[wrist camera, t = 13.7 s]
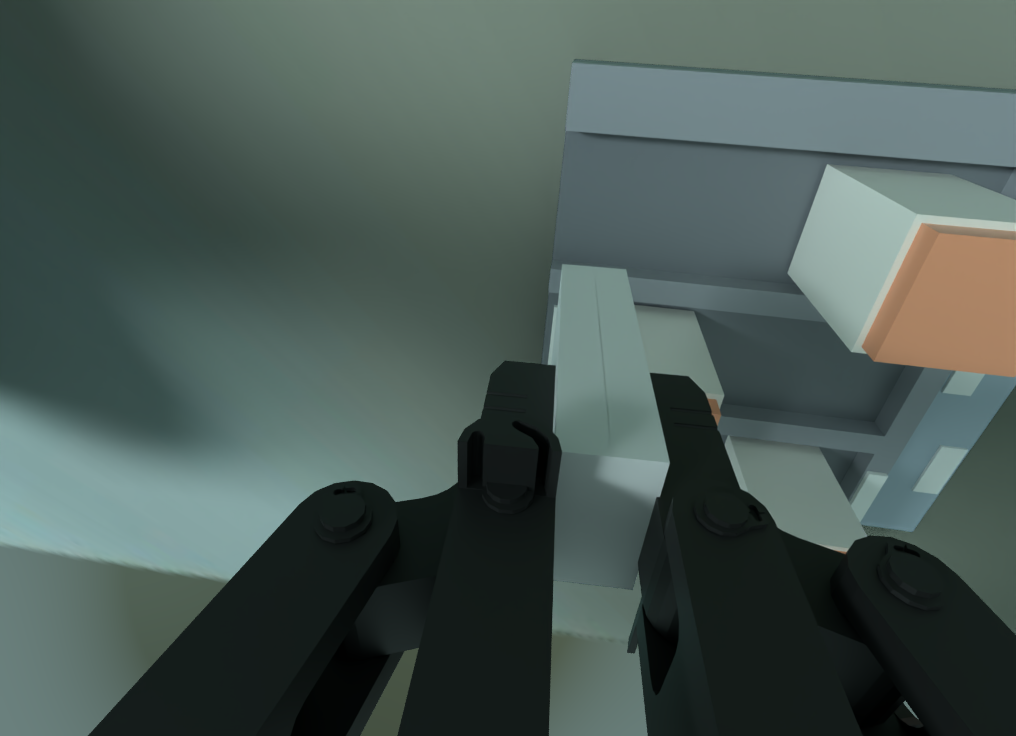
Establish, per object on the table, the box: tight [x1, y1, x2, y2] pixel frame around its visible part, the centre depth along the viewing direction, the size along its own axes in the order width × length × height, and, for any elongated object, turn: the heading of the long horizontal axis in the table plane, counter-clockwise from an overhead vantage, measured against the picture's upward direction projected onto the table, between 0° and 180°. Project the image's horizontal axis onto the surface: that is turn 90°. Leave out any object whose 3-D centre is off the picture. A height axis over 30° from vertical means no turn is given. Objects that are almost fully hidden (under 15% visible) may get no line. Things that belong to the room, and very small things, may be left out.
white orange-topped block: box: [788, 164, 1016, 377], centre depth 16 cm, size 4×4×7 cm
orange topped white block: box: [725, 435, 867, 554], centre depth 23 cm, size 4×4×7 cm
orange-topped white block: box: [634, 305, 724, 426], centre depth 20 cm, size 4×4×7 cm
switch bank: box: [541, 59, 1016, 522], centre depth 23 cm, size 16×21×3 cm
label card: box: [860, 370, 1016, 532], centre depth 23 cm, size 3×21×1 cm, turn 177°
